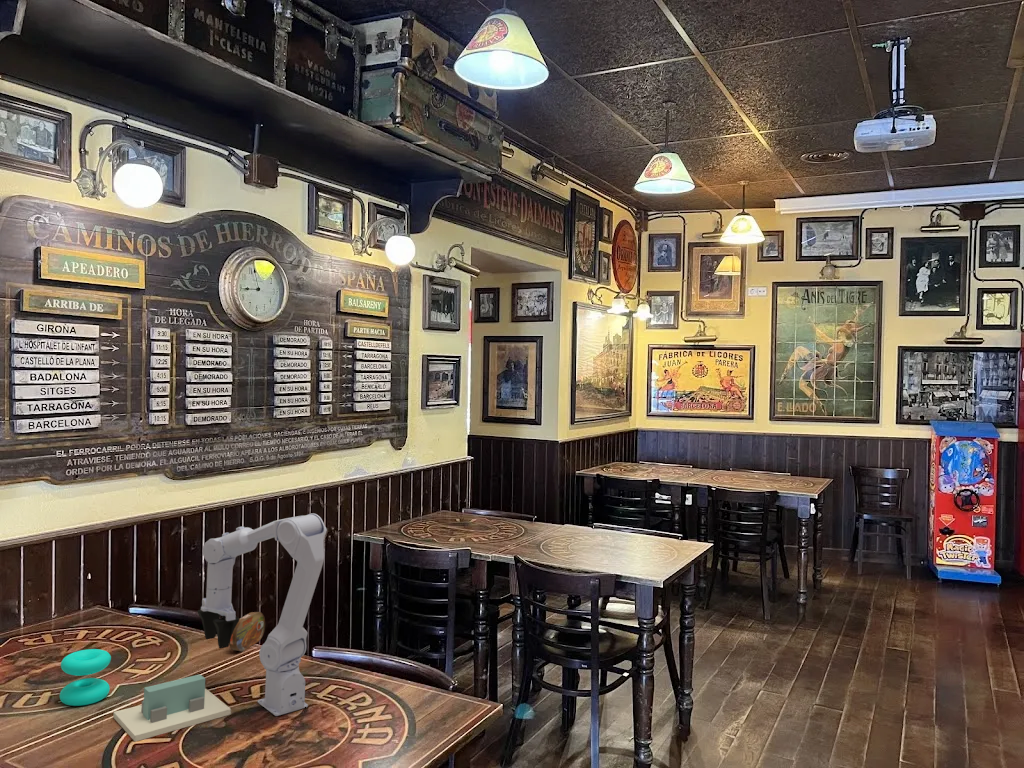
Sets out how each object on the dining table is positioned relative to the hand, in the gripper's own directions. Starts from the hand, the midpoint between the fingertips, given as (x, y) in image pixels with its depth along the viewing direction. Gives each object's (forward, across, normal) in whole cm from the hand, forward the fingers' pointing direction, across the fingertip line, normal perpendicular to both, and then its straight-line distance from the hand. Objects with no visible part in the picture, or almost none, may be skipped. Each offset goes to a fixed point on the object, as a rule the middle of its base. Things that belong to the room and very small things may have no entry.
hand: (216, 642), depth 181 cm
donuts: (+11, -11, -25) cm, 30 cm away
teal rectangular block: (+9, +10, -13) cm, 19 cm away
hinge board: (+10, +10, -14) cm, 20 cm away
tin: (+11, -21, +18) cm, 29 cm away
